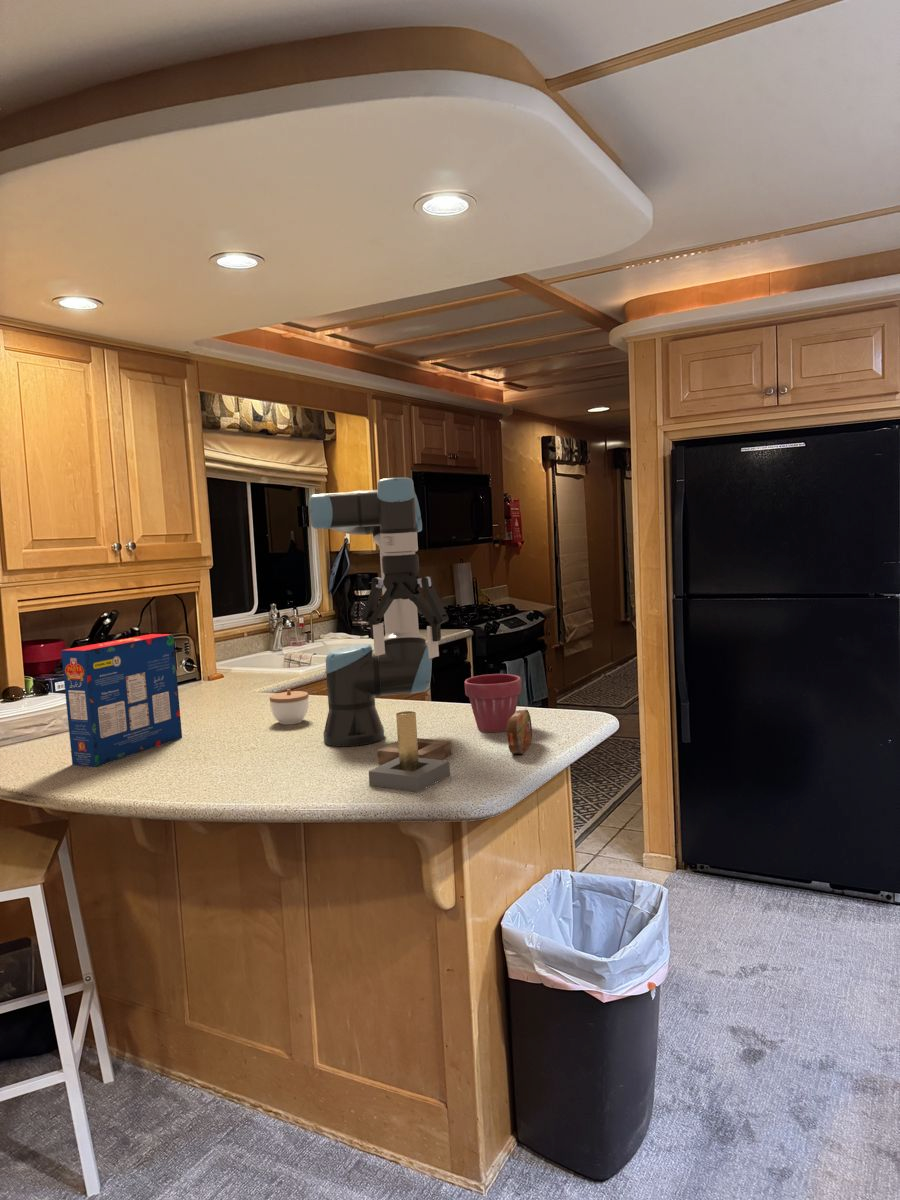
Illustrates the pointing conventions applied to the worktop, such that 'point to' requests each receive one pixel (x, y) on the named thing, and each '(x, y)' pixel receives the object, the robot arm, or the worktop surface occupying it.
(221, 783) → the worktop surface
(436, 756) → the brown wooden square frame
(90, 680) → the pasta box
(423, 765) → the plate
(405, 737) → the lock pin
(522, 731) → the tin
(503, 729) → the plant pot
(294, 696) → the lidded jar
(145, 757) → the worktop surface
